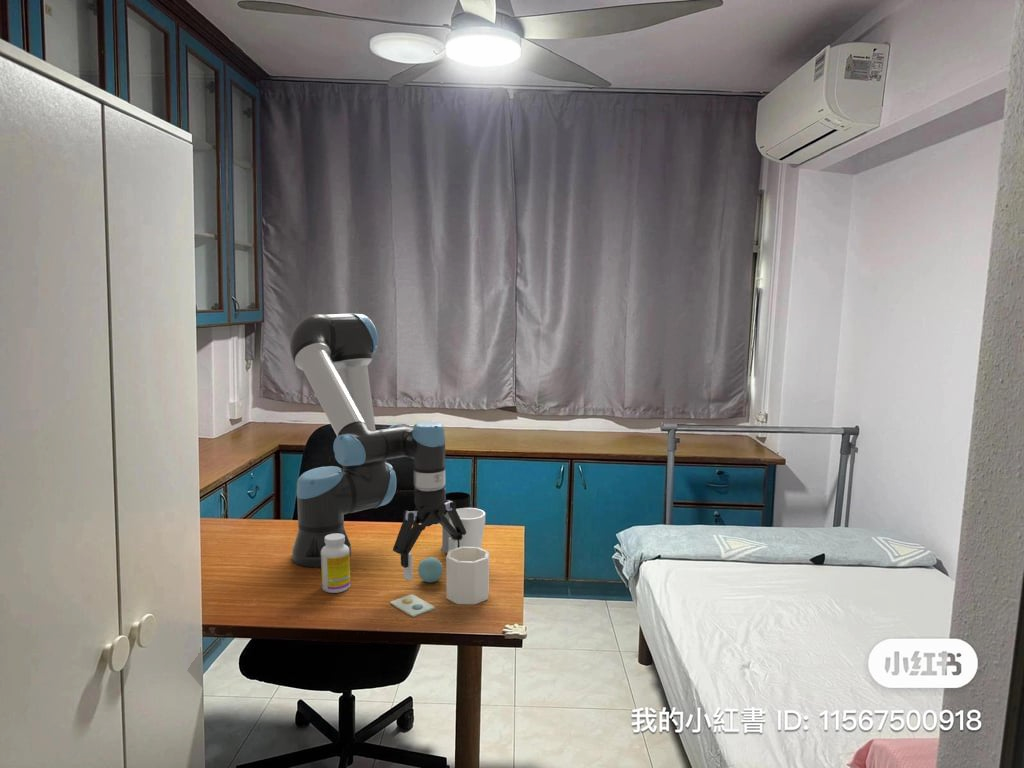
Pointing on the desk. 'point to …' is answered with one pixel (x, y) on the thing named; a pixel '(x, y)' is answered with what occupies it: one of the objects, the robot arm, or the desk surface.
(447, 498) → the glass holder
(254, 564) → the desk surface
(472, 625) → the desk surface
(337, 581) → the supplement bottle
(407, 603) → the card
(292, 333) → the robot arm
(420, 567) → the ball teal
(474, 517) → the foam cup
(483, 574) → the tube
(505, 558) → the desk surface
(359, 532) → the desk surface
